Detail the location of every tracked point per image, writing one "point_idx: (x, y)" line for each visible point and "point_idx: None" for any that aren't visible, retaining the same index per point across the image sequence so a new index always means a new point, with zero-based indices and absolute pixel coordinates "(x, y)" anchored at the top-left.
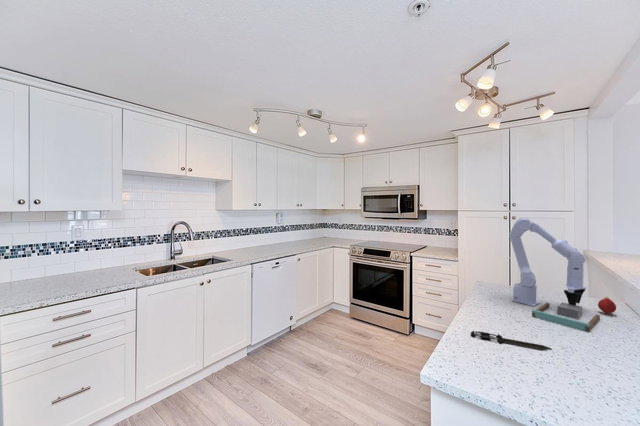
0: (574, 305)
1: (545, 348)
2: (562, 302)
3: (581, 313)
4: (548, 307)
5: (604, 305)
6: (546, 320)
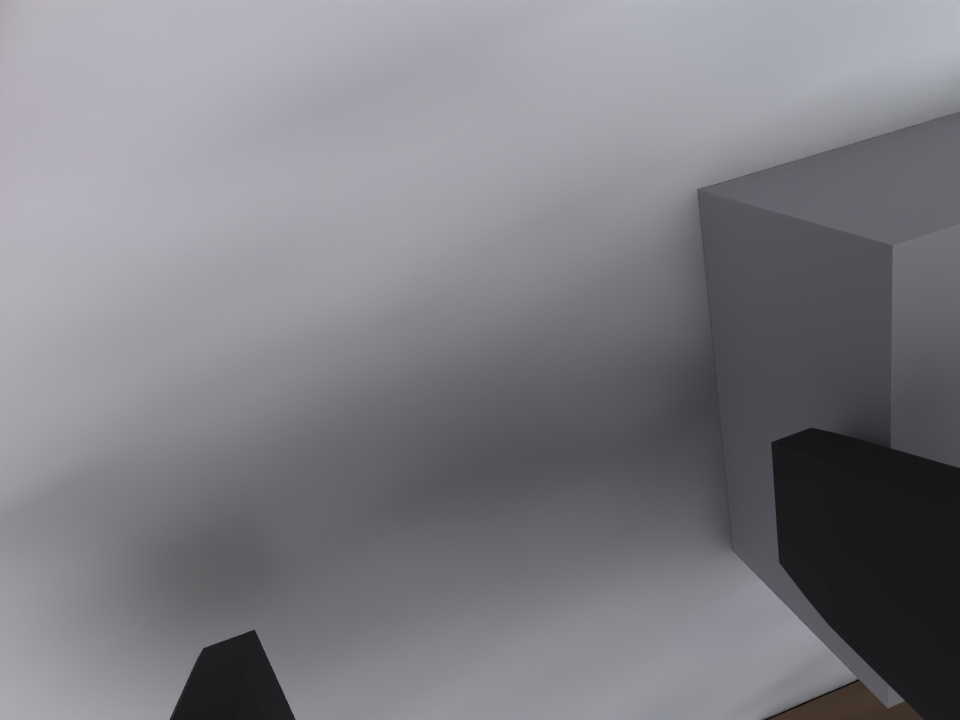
0: (936, 432)
1: None
2: (903, 701)
3: (825, 176)
4: (831, 707)
5: None
6: None
